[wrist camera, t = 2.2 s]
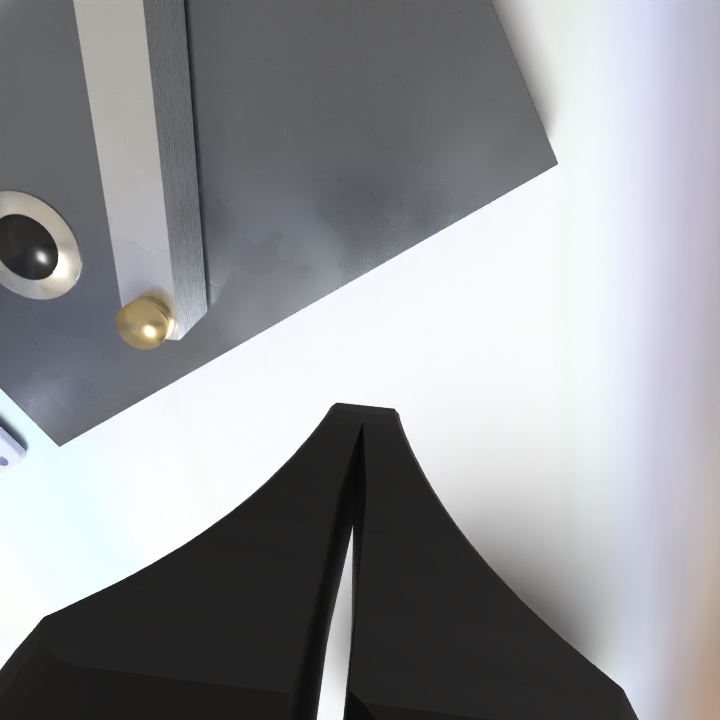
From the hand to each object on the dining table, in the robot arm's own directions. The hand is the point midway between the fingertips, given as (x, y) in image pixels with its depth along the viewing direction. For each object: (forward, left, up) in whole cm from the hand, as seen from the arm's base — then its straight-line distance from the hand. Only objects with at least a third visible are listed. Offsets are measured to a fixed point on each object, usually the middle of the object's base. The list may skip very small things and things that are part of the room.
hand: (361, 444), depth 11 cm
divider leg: (-2, +8, -7) cm, 11 cm away
